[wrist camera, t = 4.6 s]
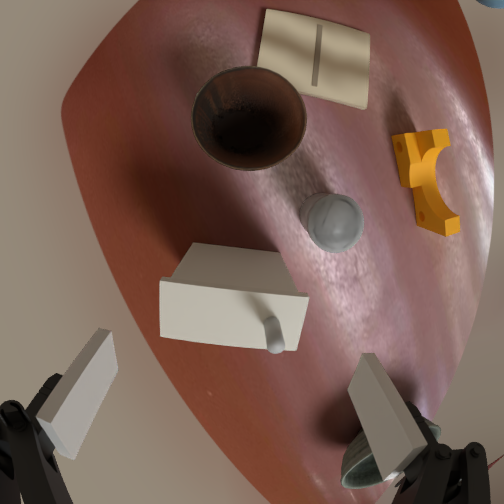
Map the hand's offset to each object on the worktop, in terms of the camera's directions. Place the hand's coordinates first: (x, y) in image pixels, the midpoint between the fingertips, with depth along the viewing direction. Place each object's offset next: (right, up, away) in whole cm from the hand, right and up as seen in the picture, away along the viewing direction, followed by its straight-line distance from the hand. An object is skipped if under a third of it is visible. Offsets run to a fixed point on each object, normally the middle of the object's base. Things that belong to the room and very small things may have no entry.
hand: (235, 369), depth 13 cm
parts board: (+8, +29, +13) cm, 32 cm away
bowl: (+26, -30, +31) cm, 50 cm away
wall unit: (-1, +5, +19) cm, 20 cm away
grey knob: (+9, +10, +18) cm, 22 cm away
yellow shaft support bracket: (+21, +15, +18) cm, 31 cm away
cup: (0, +19, +15) cm, 24 cm away
